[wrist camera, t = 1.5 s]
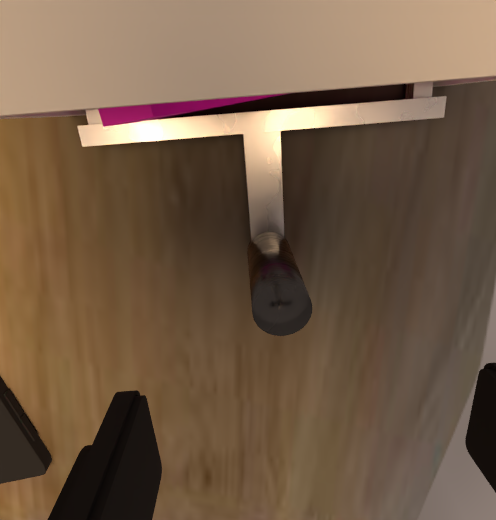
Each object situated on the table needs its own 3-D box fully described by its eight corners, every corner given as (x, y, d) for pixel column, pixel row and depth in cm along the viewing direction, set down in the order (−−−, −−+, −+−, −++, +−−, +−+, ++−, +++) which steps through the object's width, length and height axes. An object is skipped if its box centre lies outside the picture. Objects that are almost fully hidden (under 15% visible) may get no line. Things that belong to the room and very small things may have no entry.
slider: (49, -81, 17) (-114, -247, 9) (444, -113, 17) (627, -306, 9) (128, 272, 24) (76, 352, 16) (406, 250, 24) (490, 318, 16)
